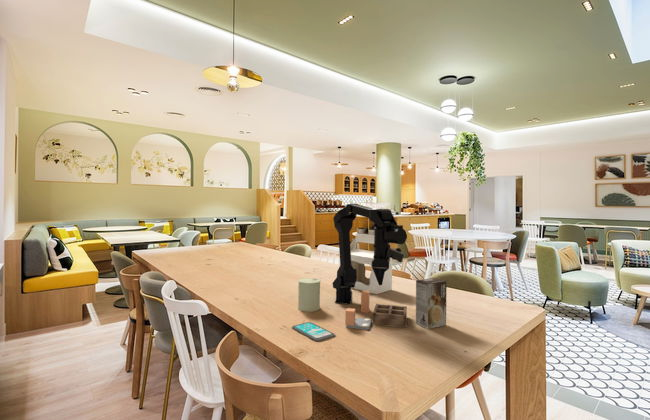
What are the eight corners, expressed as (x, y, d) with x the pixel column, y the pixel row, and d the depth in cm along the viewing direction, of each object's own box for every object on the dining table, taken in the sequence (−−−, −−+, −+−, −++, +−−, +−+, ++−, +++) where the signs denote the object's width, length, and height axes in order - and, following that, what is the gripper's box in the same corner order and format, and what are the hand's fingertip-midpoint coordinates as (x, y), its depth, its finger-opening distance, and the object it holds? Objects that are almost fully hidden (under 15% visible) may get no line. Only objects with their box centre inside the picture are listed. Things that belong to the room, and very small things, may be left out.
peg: (360, 311, 132) (361, 292, 132) (362, 309, 135) (362, 290, 135) (368, 312, 132) (368, 292, 131) (369, 310, 134) (369, 290, 134)
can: (324, 308, 136) (325, 279, 136) (308, 313, 130) (309, 283, 130) (309, 303, 143) (309, 275, 143) (293, 307, 136) (293, 279, 136)
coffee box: (433, 319, 124) (434, 277, 124) (446, 325, 119) (447, 281, 118) (414, 323, 120) (415, 279, 120) (427, 329, 114) (428, 283, 114)
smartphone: (316, 340, 102) (290, 326, 114) (316, 343, 102) (290, 328, 114) (337, 334, 108) (310, 321, 119) (337, 337, 108) (310, 323, 119)
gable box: (392, 290, 168) (393, 235, 167) (376, 294, 158) (377, 236, 158) (359, 282, 184) (360, 232, 183) (343, 285, 175) (343, 233, 174)
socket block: (372, 324, 119) (372, 313, 119) (375, 313, 130) (376, 303, 130) (406, 327, 116) (406, 316, 116) (406, 316, 127) (406, 306, 127)
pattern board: (345, 327, 115) (345, 310, 115) (349, 319, 123) (349, 303, 123) (368, 330, 113) (369, 313, 113) (371, 322, 121) (371, 305, 121)
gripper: (403, 245, 114) (403, 289, 115) (402, 239, 133) (402, 278, 133) (371, 244, 117) (371, 287, 117) (375, 238, 135) (374, 276, 135)
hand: (381, 282), depth 125 cm, fingers open, 9 cm apart
